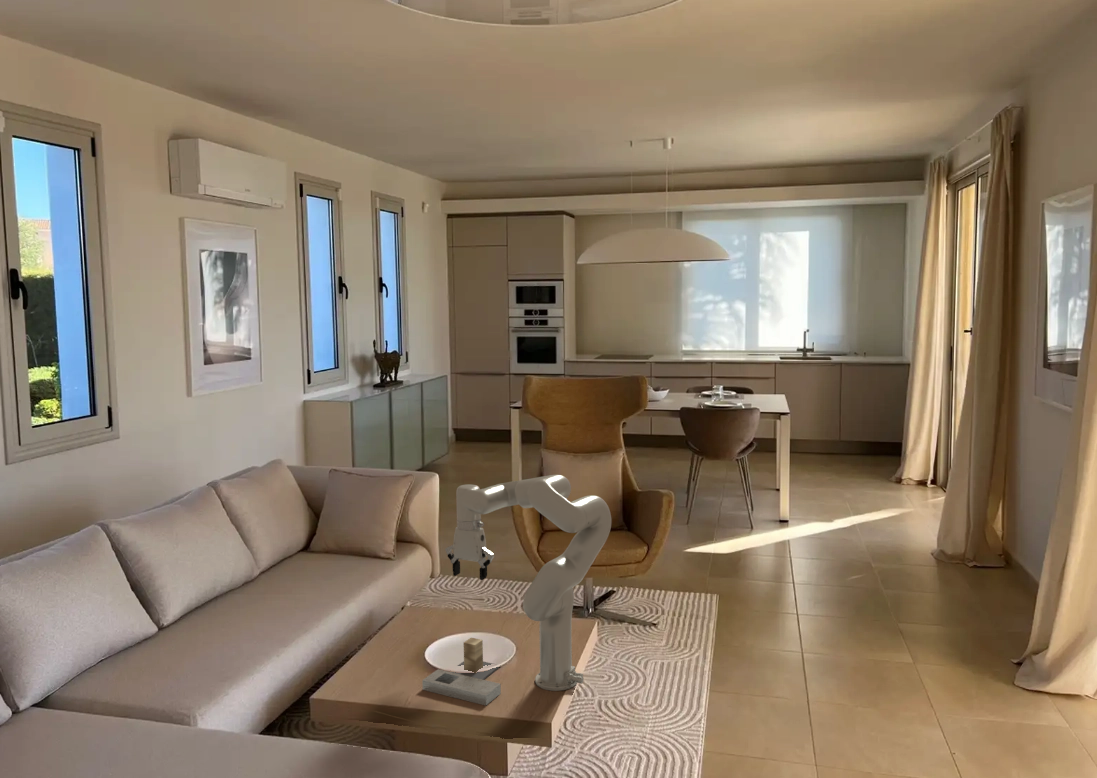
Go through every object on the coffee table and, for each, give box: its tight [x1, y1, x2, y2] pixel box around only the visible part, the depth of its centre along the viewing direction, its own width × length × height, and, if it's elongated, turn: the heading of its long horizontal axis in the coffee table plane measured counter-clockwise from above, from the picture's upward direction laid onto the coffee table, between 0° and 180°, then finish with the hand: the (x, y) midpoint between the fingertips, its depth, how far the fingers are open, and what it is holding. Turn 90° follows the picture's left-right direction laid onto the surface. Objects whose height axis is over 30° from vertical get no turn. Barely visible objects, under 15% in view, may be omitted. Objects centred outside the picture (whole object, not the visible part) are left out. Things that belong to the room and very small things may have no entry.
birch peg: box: [463, 637, 484, 673], centre depth 259 cm, size 4×4×9 cm
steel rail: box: [421, 668, 502, 706], centre depth 246 cm, size 22×8×3 cm, turn 62°
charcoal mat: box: [452, 660, 500, 680], centre depth 260 cm, size 12×12×1 cm
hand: (469, 576), depth 266 cm, fingers open, 9 cm apart
